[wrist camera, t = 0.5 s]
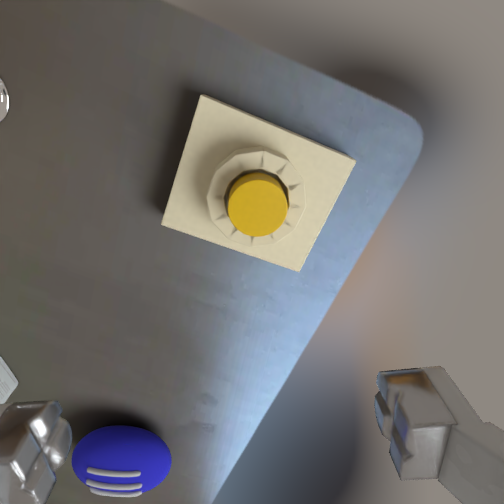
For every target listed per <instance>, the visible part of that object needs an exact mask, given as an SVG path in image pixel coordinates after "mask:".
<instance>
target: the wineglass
mask: <svg viewBox="0 0 504 504" xmlns="http://www.w3.org/2000/svg"><path fill="white" fill-rule="evenodd" d="M9 107H10V99H9V94H8V90H7V88H6V86H5V84H4V82H3V80H2V79H1V77H0V122H2V121H3V120H4V119H5V117H6V116H7V114H8V111H9Z"/></svg>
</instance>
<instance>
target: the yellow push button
mask: <svg viewBox="0 0 504 504" xmlns="http://www.w3.org/2000/svg"><path fill="white" fill-rule="evenodd" d="M287 211H288V204H287V199H286V196H285V194H284V192H283V189H282V187H281V185H280V184H279V183H278V181H277V180H276V179H274V178H273V177H271V176H270V175H267V174H264V173H250V174H247V175H244V176H242V177H241V178H239V179H238V180H237V181H236V182H235V183H234V185H233V186H232V188H231V190H230V193H229V199H228V215H229V218H230V221H231V222H232V224H233V225H234V227H235V228H236V229H237V230H239V231H240V232H242V233H243V234H246V235H249V236H253V237H261V236H266V235H269V234H271V233H273V232H275V231H276V230H277V229H278V228H279V227H280V226H281V225H282V224H283V222H284V221H285V218H286V216H287Z"/></svg>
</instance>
